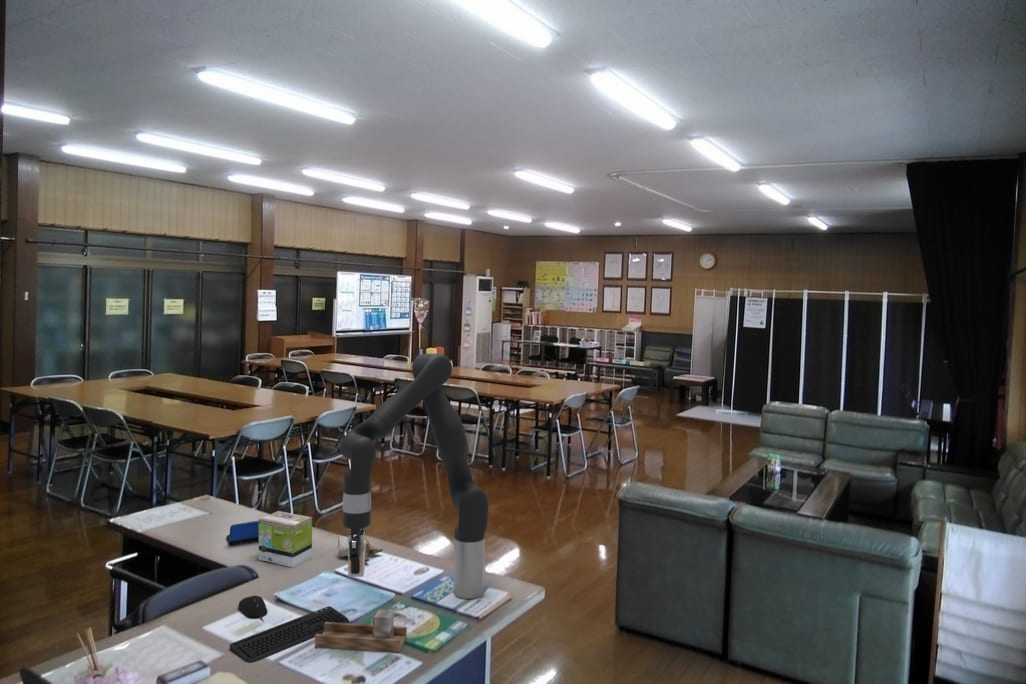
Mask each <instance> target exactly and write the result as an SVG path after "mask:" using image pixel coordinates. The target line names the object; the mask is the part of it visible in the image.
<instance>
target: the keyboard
mask: <svg viewBox="0 0 1026 684" xmlns="http://www.w3.org/2000/svg"><path fill="white" fill-rule="evenodd" d="M325 622H336V623H350V620H349V618H348V617H347V616H346V615H344V614H342V613H341V612H340V611H339V610H337V609H335V607H332V606H325V607H323V608H321V609H317V610H314V611H312V612H310V613H307V614H305V615H302V616H299V617H296V618H294V619H291V620H289V621H286V622H284V623H281V624H278V625H276V626H273V627H271V628H268V629H266V630H262V631H260V632H257V633H255V634H253V635H249V636H247V637H245V638H241V639H240V640H236V641H234V642H231V643H230V644H229V651H231V652H232V653H234V654H235V655H237V656H238V657H239V658H240V659H242V661H244V662H245V663H249V664H251V663H256V662H260V661H262V660H263V659H265V658H268V657H271V656H273V655H276V654H278V653H281V652H284V651H285V650H287V649H290V648H294V647H295V646H298V645H301V644H303V643H304V642H307V641H310V640H311V639H315V635H316V634H322V633H323V632H324V624H325Z"/></svg>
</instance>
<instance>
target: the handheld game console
mask: <svg viewBox="0 0 1026 684" xmlns="http://www.w3.org/2000/svg"><path fill="white" fill-rule="evenodd" d="M226 540H227V543H228V546H229V547H231V546H232V547H233V546H238V545H242V544H243V545H244V544H250V543H252V542H253V543H254V542H255V543H256V542H259V520H256V521H255V520H254V521H247V522H242V523H236V524H232V525H231V526H230V527H229V534H227V535H226Z"/></svg>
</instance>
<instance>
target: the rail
mask: <svg viewBox="0 0 1026 684" xmlns="http://www.w3.org/2000/svg"><path fill="white" fill-rule="evenodd" d="M394 620H395V611H394V610H388V609H386V610H385V609H378V611H377V612H375V613H374V616H372V624H365V623H350V622H349V623H336V622H325V624H324V632H323V633H322V634H316V635H315V638H314V648H320V649H321V648H322V649H323V648H324V649H338V650H339V649H341V650H353V651H354V650H355V651H368V652H369V651H370V652H371V651H372V652H385V653H400V652H401V650H402V648H403V646H404V643H405V642H406V639H408V638H407V631H408V628H407V626H398V625H394V623H395V621H394Z"/></svg>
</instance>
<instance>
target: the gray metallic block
mask: <svg viewBox="0 0 1026 684" xmlns="http://www.w3.org/2000/svg"><path fill="white" fill-rule="evenodd" d="M359 548H360V546H359ZM353 556H357V554H356V553H355V554H353ZM349 557H350V555H349V551H348V556H347V560H348V561H347V577H348V578H361V577H363V578H364V575H365V571H366V564H365V563H366V562H365V546H362V551H360V572H359V574H352V573H351V561H350V559H349Z"/></svg>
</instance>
